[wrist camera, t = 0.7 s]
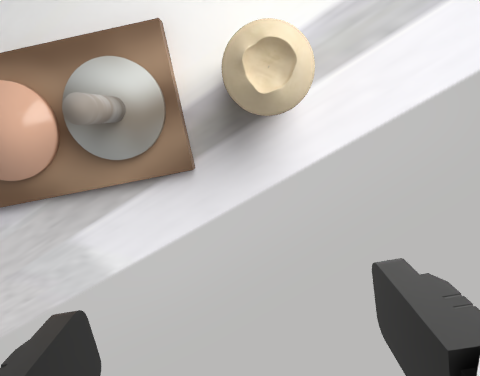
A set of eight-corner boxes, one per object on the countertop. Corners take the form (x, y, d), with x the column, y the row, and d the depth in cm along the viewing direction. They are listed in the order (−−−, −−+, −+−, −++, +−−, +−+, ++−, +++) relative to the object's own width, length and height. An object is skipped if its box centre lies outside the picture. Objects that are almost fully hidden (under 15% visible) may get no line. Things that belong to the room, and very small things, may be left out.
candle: (277, 125, 30) (292, 131, 21) (218, 97, 30) (204, 91, 20) (307, 62, 29) (337, 38, 20) (245, 33, 29) (244, -7, 19)
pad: (-52, 91, 29) (-60, 91, 28) (42, 71, 29) (37, 70, 28) (-19, 187, 31) (-25, 189, 30) (71, 169, 30) (67, 170, 30)
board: (-71, 73, 30) (-183, 59, 22) (162, 21, 29) (130, -12, 21) (-22, 210, 32) (-108, 241, 25) (195, 167, 31) (178, 186, 23)
